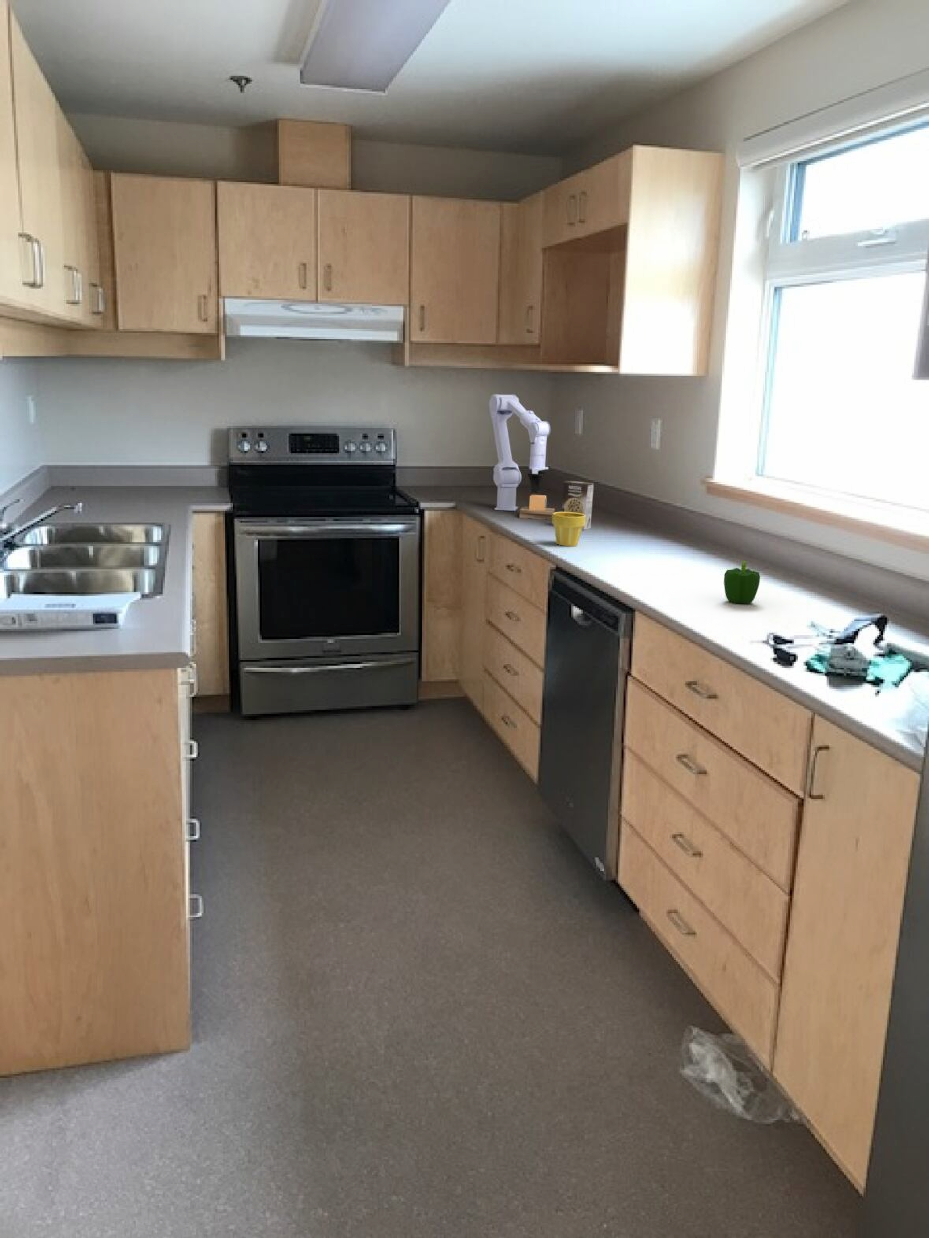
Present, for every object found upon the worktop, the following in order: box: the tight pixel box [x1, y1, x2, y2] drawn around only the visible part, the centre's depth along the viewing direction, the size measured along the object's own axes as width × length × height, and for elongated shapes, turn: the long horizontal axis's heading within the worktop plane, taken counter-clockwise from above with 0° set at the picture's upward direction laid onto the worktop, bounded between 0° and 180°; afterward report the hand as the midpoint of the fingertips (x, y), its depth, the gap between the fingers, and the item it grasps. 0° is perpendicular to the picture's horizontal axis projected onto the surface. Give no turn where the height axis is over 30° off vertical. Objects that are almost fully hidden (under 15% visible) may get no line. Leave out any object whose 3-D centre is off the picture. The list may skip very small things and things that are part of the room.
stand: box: [519, 506, 556, 521], centre depth 373 cm, size 10×12×3 cm
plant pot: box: [551, 511, 585, 547], centre depth 316 cm, size 10×10×10 cm
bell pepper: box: [723, 560, 761, 605], centre depth 244 cm, size 8×8×10 cm
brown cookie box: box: [561, 480, 595, 531], centre depth 349 cm, size 9×6×16 cm
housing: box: [528, 494, 548, 510], centre depth 372 cm, size 6×4×5 cm
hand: (535, 491), depth 373 cm, fingers open, 7 cm apart
